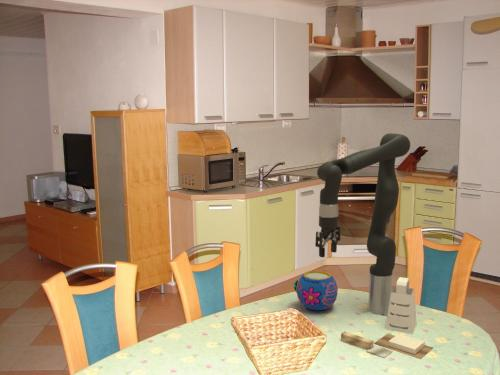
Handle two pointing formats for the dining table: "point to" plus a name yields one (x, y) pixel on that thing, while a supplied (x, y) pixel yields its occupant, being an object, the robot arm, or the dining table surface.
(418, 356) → the board
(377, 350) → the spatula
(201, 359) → the dining table surface
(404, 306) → the grater
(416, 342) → the tile
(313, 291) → the ceramic pot
